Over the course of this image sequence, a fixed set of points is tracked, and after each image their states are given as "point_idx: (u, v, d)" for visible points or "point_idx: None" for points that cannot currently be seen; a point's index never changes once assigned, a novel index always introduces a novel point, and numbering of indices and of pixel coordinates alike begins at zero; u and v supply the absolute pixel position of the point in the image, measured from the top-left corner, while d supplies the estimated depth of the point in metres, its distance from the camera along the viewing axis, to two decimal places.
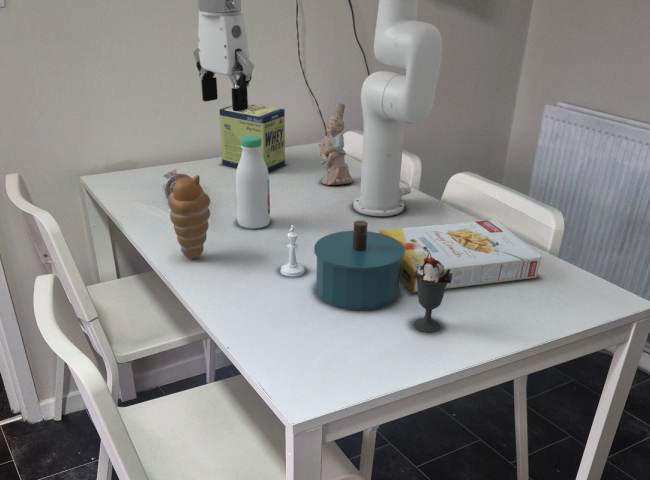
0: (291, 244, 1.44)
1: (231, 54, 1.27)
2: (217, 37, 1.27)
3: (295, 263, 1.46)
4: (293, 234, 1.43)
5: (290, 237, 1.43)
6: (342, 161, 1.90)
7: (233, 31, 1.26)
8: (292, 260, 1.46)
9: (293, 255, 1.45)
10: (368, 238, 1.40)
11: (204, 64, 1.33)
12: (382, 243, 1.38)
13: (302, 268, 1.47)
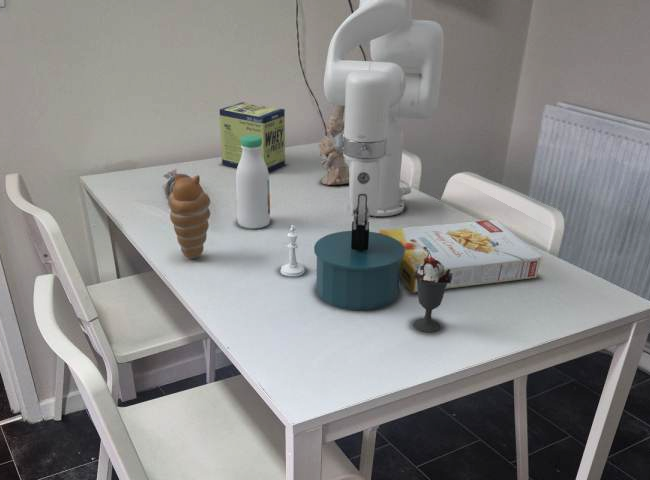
0: (291, 244, 1.44)
1: (354, 198, 1.25)
2: None
3: (295, 263, 1.46)
4: (293, 234, 1.43)
5: (290, 237, 1.43)
6: (342, 161, 1.90)
7: (361, 177, 1.24)
8: (292, 260, 1.46)
9: (293, 255, 1.45)
10: None
11: None
12: (382, 243, 1.38)
13: (302, 268, 1.47)
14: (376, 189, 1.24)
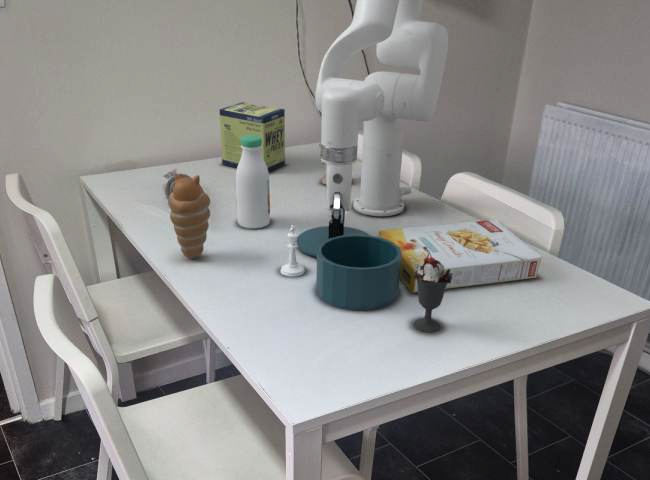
0: (291, 244, 1.44)
1: (330, 195, 1.48)
2: (326, 179, 1.49)
3: (295, 263, 1.46)
4: (293, 234, 1.43)
5: (290, 237, 1.43)
6: None
7: (336, 177, 1.46)
8: (292, 260, 1.46)
9: (293, 255, 1.45)
10: None
11: None
12: None
13: (302, 268, 1.47)
14: (348, 188, 1.47)
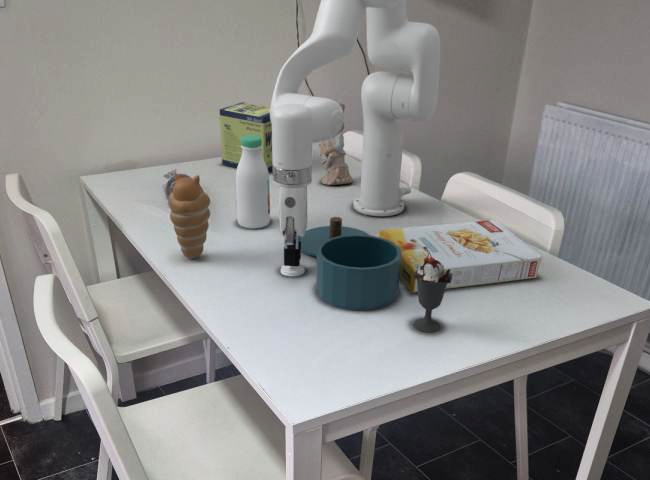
0: None
1: (283, 220, 1.37)
2: None
3: None
4: None
5: None
6: (342, 161, 1.90)
7: (288, 201, 1.35)
8: None
9: None
10: (343, 232, 1.62)
11: None
12: None
13: (302, 268, 1.47)
14: (302, 212, 1.36)
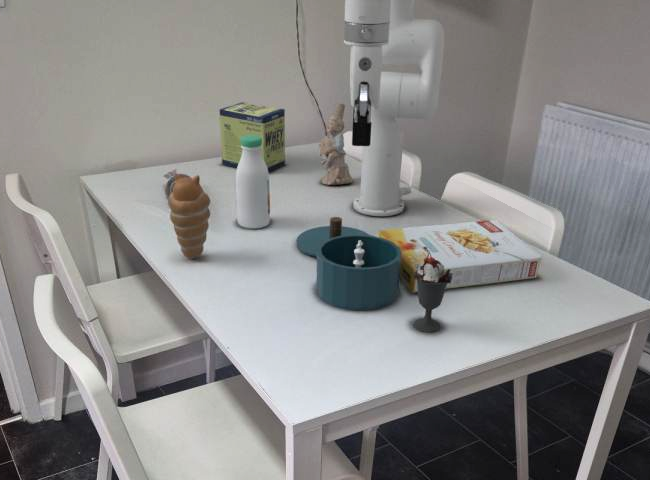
0: (357, 260, 1.37)
1: (355, 86, 1.20)
2: (350, 67, 1.20)
3: None
4: (360, 250, 1.36)
5: (357, 253, 1.36)
6: (342, 161, 1.90)
7: (363, 63, 1.18)
8: None
9: None
10: (343, 232, 1.62)
11: None
12: None
13: None
14: (378, 76, 1.19)
